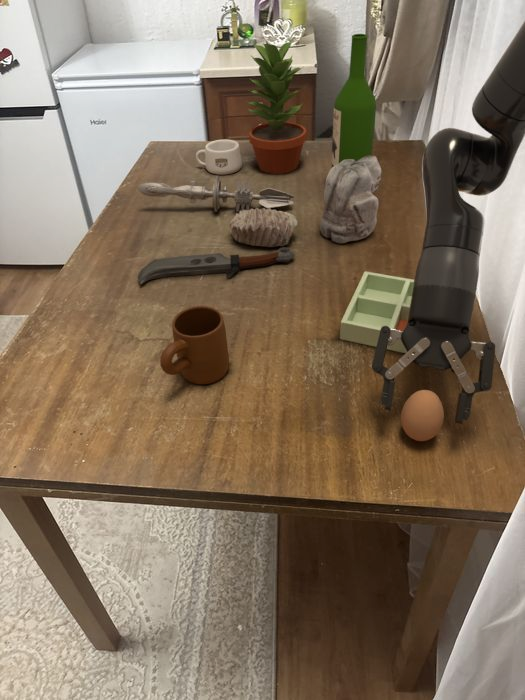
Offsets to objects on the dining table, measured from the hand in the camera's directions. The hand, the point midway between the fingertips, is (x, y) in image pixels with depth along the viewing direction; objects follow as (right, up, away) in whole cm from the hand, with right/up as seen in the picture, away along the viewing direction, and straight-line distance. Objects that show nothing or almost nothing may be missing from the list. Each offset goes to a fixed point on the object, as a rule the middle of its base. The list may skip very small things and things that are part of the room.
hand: (422, 416), depth 67 cm
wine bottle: (+1, +46, +60) cm, 76 cm away
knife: (-29, +23, +37) cm, 52 cm away
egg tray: (+2, +13, +22) cm, 26 cm away
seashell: (-20, +31, +45) cm, 58 cm away
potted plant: (-16, +57, +74) cm, 95 cm away
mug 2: (-31, +56, +74) cm, 98 cm away
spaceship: (-30, +40, +56) cm, 75 cm away
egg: (+1, -3, +4) cm, 5 cm away
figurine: (-2, +33, +46) cm, 56 cm away
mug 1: (-30, +4, +14) cm, 33 cm away
